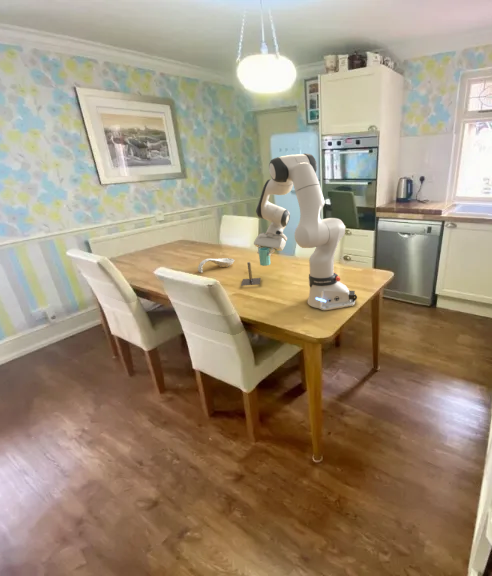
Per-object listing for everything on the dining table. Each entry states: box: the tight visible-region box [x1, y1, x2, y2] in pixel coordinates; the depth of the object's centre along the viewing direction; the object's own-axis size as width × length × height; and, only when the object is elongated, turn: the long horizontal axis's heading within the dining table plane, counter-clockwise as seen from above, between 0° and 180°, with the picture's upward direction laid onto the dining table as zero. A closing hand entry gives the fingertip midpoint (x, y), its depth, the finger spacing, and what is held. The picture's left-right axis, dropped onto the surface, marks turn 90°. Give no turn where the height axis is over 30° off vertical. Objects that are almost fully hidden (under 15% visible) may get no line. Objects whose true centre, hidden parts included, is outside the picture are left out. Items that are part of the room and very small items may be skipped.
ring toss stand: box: [240, 261, 262, 286], centre depth 174 cm, size 10×10×12 cm
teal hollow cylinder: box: [258, 248, 272, 267], centre depth 182 cm, size 6×6×9 cm
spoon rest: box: [197, 257, 235, 274], centre depth 202 cm, size 24×12×7 cm, turn 135°
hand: (263, 254), depth 181 cm, fingers closed on teal hollow cylinder, 6 cm apart
